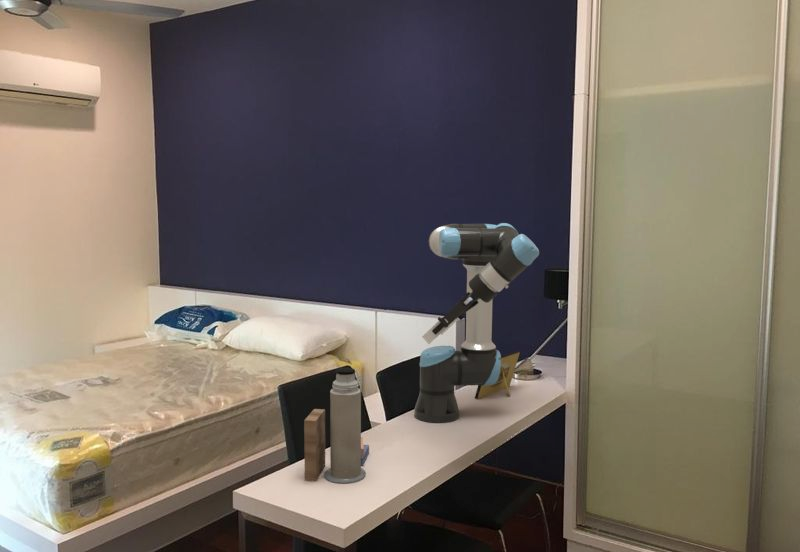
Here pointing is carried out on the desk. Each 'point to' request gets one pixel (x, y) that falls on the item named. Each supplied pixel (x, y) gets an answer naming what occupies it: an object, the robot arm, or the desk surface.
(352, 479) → the coaster
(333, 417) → the thermos bottle
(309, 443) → the bookend
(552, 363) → the desk surface
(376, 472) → the desk surface
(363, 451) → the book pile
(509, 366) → the picture frame
